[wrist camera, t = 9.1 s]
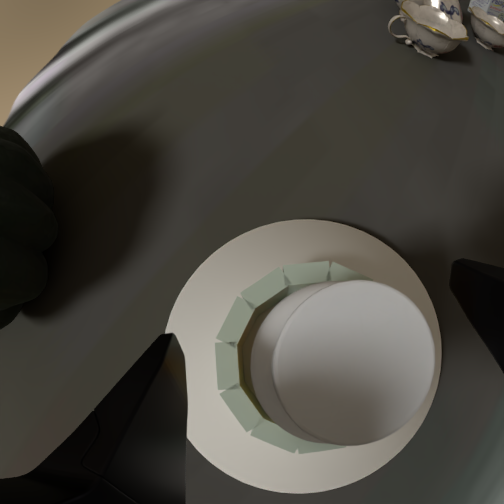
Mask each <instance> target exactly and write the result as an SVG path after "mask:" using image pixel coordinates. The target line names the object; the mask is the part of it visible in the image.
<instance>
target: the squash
mask: <svg viewBox="0 0 504 504" xmlns="http://www.w3.org/2000/svg"><path fill="white" fill-rule="evenodd" d="M53 199H54V190H53V185H52V181H51V179H50V178H49V176H48V175H47V174H46V172H45V171H44V170H43V168H42V165H41V163H40V161H39V158H38V157H37V155H36V154H35V152H34V151H33V150H32V148H31V147H30V146H29V144H28V143H27V142H26V141H25V140H24V139H23V138H22V137H21V136H20V135H19V134H18V133H17V132H15V131H14V130H12V129H9V128H6V127H2V126H0V329H2V328H3V327H5V326H7V325H8V324H9V323H11V322H12V321H13V320H14V319H15V317H16V316H17V314H18V313H19V312H20V310H21V308H22V305H23V303H24V302H28V301H30V300H32V299H34V298H36V297H37V296H39V295H40V293H41V292H42V291H43V290H44V288H45V286H46V283H47V279H48V264H47V261H46V259H45V257H44V255H43V254H42V252H43V251H45V250H46V249H48V248H49V247H50V246H51V245H52V244H53V243H54V241H55V239H56V237H57V234H58V227H59V225H58V223H57V220H56V218H55V216H54V214H53V212H52V210H51V209H52V205H53Z"/></svg>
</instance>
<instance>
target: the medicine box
mask: <svg viewBox="0 0 504 504" xmlns="http://www.w3.org/2000/svg"><path fill="white" fill-rule="evenodd" d="M474 6H475V7H479V8H481V9H482V10H484V11H485V12H486V13H487V15H491V16H495V17H497V18H499V19H500V20H501V21H502V22H503V20H504V0H471V2H470V5H469V7H471V8H472V7H474ZM468 11H469V9H468ZM469 12H470V11H469ZM470 13H471V12H470Z"/></svg>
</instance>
